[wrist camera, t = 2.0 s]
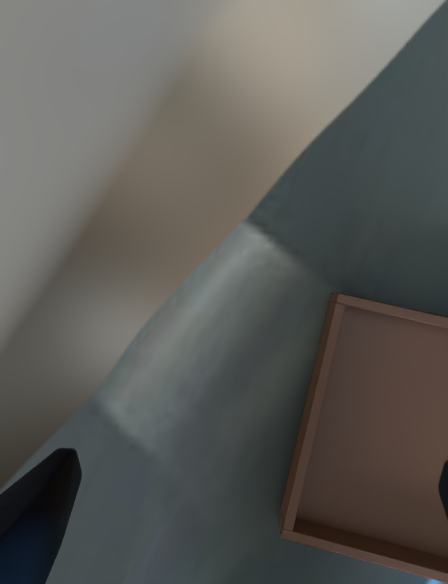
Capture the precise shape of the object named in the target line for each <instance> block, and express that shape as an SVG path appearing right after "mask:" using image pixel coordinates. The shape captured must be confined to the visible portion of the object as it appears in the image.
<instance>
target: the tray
mask: <svg viewBox="0 0 448 584" xmlns="http://www.w3.org/2000/svg"><path fill="white" fill-rule="evenodd" d="M447 460H448V317H443V316H439V315H434V314H430V313H425V312H421V311H417V310H412V309H408V308H403V307H399V306H394V305H390V304H385V303H381V302H376V301H372V300H367V299H363V298H359V297H354V296H350V295H345V294H341V293H331V296H330V300H329V305H328V309H327V313H326V317H325V322H324V326H323V330H322V335H321V339H320V343H319V347H318V352H317V356H316V360H315V364H314V369H313V373H312V377H311V382H310V386H309V390H308V394H307V399H306V403H305V407H304V412H303V416H302V420H301V424H300V429H299V433H298V437H297V442H296V446H295V450H294V454H293V459H292V463H291V467H290V472H289V476H288V480H287V484H286V489H285V493H284V497H283V502H282V506H281V510H280V514H279V523H280V532H281V538H283V539H287V540H291V541H294V542H298V543H302V544H305V545H309V546H313V547H316V548H320V549H324V550H327V551H331V552H335V553H338V554H342V555H346V556H349V557H353V558H357V559H360V560H364V561H368V562H371V563H375V564H379V565H382V566H386V567H390V568H393V569H397V570H401V571H404V572H408V573H412V574H415V575H419V576H423V577H426V578H430V579H434V580H437V581H441V582H445V583H448V520H447V516H446V513H445V510H444V507H443V504H442V501H441V498H440V495H439V490H438V484H439V480H440V476H441V473H442V469H443V465H444V463H445V461H447Z"/></svg>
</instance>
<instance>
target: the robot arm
mask: <svg viewBox="0 0 448 584" xmlns="http://www.w3.org/2000/svg"><path fill="white" fill-rule="evenodd" d="M81 478H82V471H81V467H80V463H79V459H78V455H77V452H76V450H75V449H73V448H59V449H57V450H55V451H54V452H53V453H52V454H50V455H49V456H48V457H47V458H45V459H44V460H43V461H42V462H40V463H39V464H38V465H37V466H35V467H34V468H33V469H32V470H30V471H29V472H28V473H27V474H25V475H24V476H23V477H22V478H20V479H19V480H18V481H17V482H15V483H14V484H13V485H12V486H10V487H9V488H8V489H7V490H5V491H4V492H3V493H2V494H0V584H45V583H46V580H47V578H48V576H49V573H50V571H51V568H52V566H53V564H54V561H55V559H56V556H57V554H58V551H59V549H60V546H61V543H62V540H63V537H64V534H65V531H66V528H67V525H68V521H69V518H70V515H71V512H72V508H73V505H74V502H75V499H76V495H77V492H78V489H79V486H80V482H81ZM438 490H439V495H440V498H441V501H442V504H443V507H444V510H445V513H446V516H447V520H448V460H447V461H445V463H444V465H443V469H442V473H441V476H440V480H439V484H438Z"/></svg>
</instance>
